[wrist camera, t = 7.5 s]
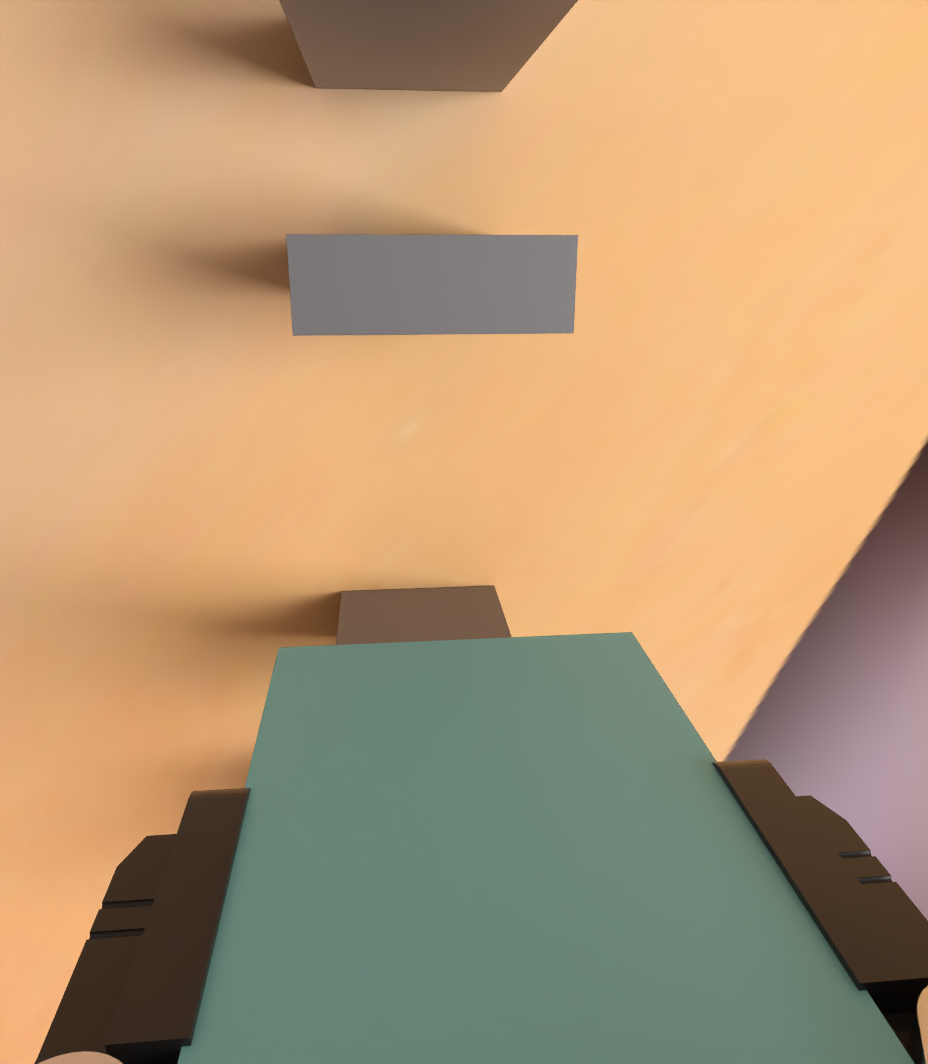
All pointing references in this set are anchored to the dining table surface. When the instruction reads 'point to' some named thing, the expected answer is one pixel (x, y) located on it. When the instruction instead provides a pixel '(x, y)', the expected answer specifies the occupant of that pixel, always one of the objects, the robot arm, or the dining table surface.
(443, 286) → the domino
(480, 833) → the domino
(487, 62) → the domino
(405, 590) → the domino
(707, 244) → the dining table surface
